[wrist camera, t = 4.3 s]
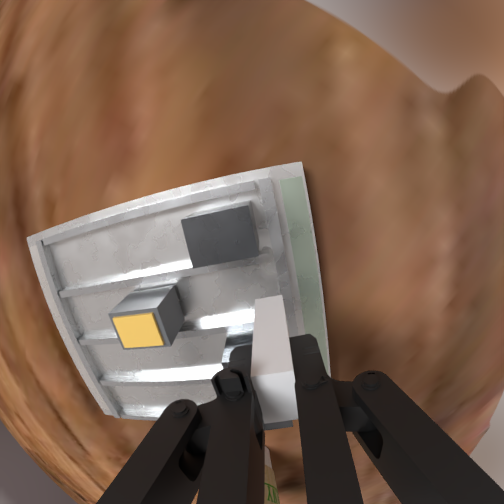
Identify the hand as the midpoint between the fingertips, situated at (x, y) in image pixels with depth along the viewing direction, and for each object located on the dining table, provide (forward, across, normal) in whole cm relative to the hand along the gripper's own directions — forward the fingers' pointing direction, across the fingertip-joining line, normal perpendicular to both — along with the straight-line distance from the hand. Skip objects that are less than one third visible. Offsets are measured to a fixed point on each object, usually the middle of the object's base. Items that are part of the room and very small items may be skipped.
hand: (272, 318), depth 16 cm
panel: (+8, -9, -3) cm, 12 cm away
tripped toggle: (+5, -9, 0) cm, 11 cm away
